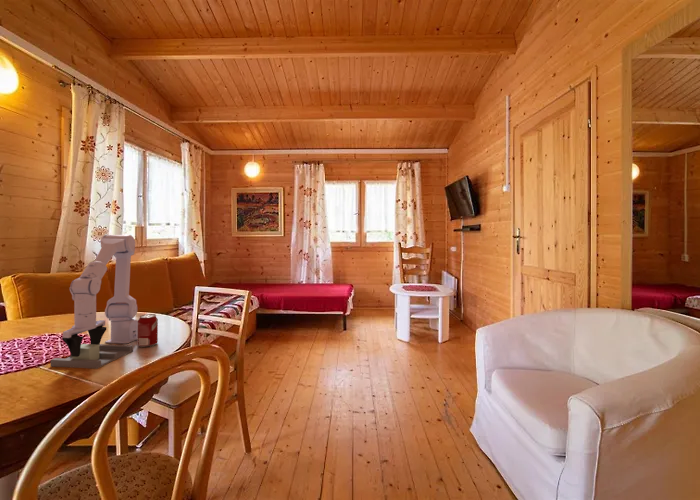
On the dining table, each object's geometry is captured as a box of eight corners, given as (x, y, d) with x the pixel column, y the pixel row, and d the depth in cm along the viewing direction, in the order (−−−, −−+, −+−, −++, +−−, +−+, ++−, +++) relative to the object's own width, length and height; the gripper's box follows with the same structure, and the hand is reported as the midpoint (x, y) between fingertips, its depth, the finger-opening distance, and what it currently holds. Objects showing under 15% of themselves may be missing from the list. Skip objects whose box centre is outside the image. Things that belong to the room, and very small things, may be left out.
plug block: (99, 358, 111) (99, 344, 110) (89, 363, 107) (89, 348, 106) (82, 357, 111) (82, 343, 111) (72, 362, 107) (72, 347, 107)
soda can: (147, 348, 123) (148, 318, 123) (133, 347, 124) (133, 316, 124) (161, 343, 130) (161, 314, 129) (147, 341, 131) (147, 313, 130)
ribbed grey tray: (132, 351, 120) (132, 345, 120) (97, 368, 104) (97, 362, 104) (91, 349, 121) (91, 343, 121) (50, 366, 105) (50, 359, 105)
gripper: (92, 307, 115) (92, 344, 116) (53, 317, 101) (53, 359, 101) (110, 308, 115) (110, 345, 116) (74, 318, 101) (74, 360, 101)
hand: (85, 352), depth 109 cm, fingers open, 7 cm apart
